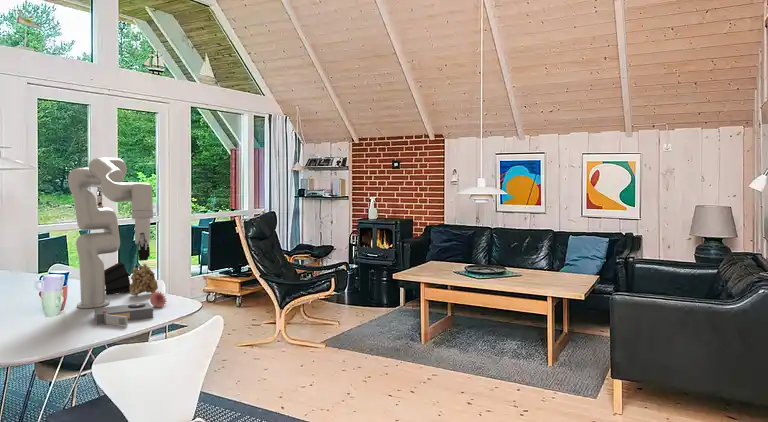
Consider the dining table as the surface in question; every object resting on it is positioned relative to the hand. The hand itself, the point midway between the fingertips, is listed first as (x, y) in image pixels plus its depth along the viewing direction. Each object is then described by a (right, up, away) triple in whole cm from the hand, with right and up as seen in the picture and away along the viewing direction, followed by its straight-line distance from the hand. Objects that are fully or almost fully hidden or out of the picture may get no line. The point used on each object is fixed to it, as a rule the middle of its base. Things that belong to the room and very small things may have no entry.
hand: (144, 258), depth 221 cm
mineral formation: (-21, -22, +49) cm, 57 cm away
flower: (-4, -23, +25) cm, 34 cm away
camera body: (-10, -24, +5) cm, 26 cm away
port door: (-8, -25, -7) cm, 27 cm away
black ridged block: (-36, -21, +52) cm, 67 cm away
